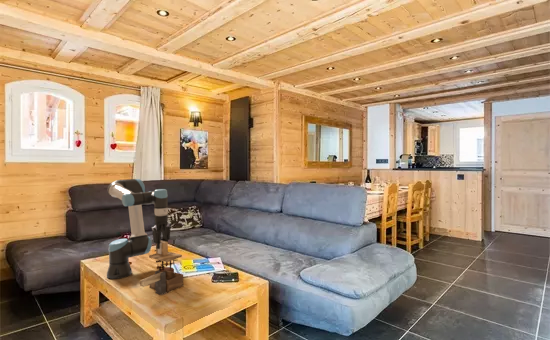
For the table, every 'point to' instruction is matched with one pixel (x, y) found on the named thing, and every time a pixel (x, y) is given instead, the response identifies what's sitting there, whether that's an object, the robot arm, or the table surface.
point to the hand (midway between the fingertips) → (162, 252)
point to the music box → (164, 266)
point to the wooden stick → (150, 279)
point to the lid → (165, 253)
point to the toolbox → (167, 282)
